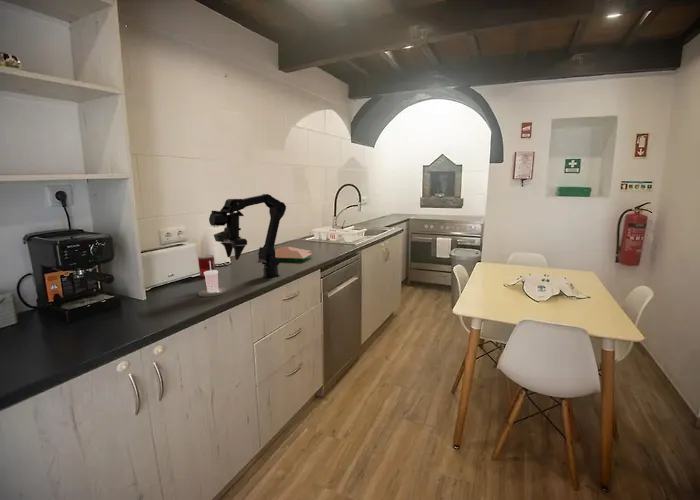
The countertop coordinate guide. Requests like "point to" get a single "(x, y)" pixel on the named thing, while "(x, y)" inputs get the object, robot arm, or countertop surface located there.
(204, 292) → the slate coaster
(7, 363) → the countertop surface
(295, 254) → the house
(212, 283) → the beverage cup
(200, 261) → the canned food
